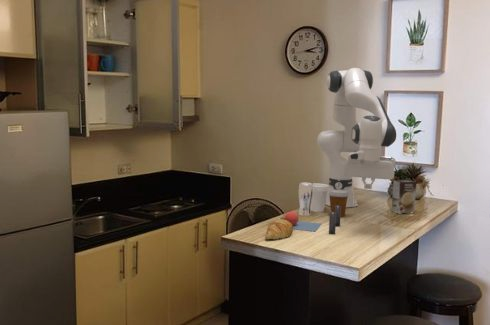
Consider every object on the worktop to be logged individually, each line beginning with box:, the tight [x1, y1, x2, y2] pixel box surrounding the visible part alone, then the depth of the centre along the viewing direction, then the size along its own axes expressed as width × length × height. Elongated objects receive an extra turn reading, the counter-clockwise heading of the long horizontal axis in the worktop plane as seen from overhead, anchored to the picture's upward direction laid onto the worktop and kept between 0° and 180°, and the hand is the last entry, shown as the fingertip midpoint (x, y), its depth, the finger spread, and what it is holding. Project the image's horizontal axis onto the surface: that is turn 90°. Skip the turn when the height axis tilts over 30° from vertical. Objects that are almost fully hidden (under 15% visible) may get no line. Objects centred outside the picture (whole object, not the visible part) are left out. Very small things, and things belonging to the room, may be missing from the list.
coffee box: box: [391, 179, 417, 215], centre depth 254 cm, size 9×6×16 cm
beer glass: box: [298, 181, 314, 217], centre depth 246 cm, size 7×7×15 cm
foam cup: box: [311, 182, 329, 213], centre depth 254 cm, size 10×9×13 cm
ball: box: [285, 211, 299, 225], centre depth 225 cm, size 6×6×6 cm
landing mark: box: [293, 220, 322, 233], centre depth 225 cm, size 14×14×1 cm
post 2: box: [335, 205, 342, 228], centre depth 226 cm, size 3×3×9 cm
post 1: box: [328, 211, 336, 235], centre depth 214 cm, size 3×3×9 cm
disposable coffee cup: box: [329, 189, 349, 218], centre depth 245 cm, size 10×10×12 cm
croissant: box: [264, 218, 294, 240], centre depth 210 cm, size 21×10×8 cm, turn 149°
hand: (367, 188), depth 214 cm, fingers closed
